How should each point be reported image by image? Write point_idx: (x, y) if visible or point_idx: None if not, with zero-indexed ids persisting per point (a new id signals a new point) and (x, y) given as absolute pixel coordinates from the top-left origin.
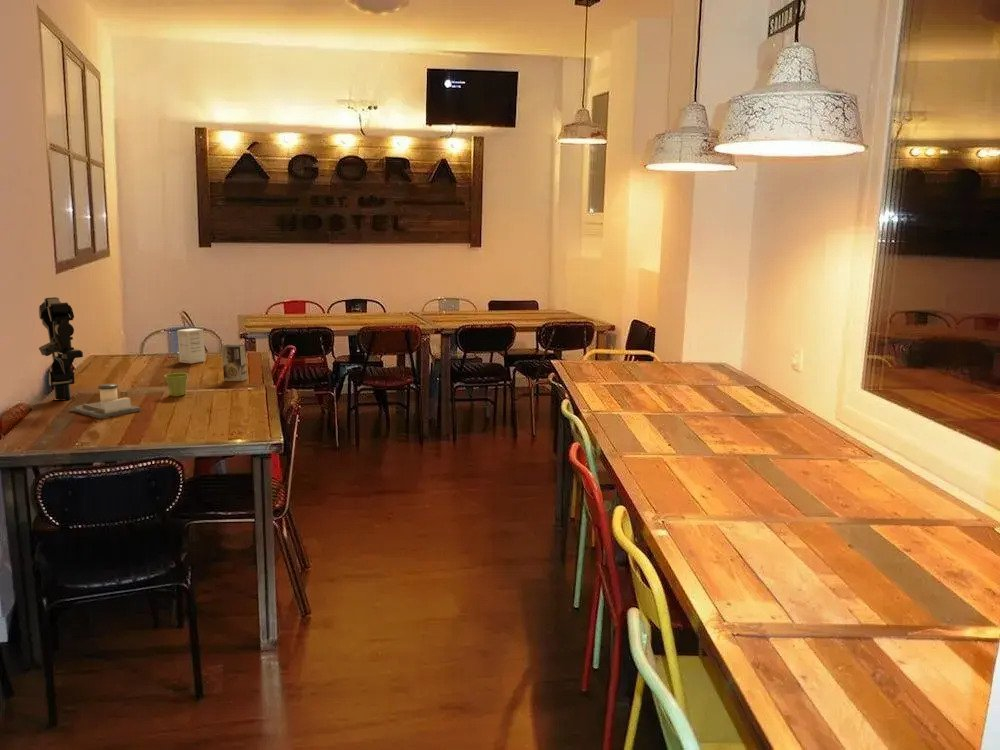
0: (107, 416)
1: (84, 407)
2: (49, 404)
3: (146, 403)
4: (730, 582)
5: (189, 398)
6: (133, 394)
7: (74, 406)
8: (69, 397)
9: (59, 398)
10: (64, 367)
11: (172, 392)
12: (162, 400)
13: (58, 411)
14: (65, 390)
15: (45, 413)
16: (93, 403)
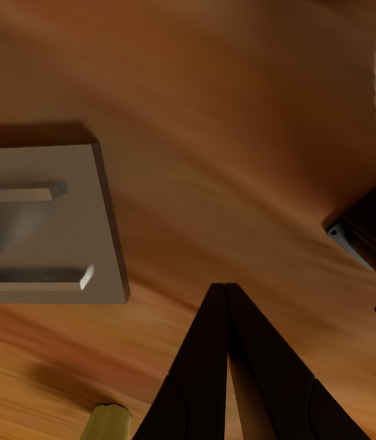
0: None
1: (39, 184)
2: (332, 132)
3: (57, 343)
4: None
5: (54, 408)
6: None
7: (92, 163)
8: (349, 245)
9: (360, 203)
10: (177, 358)
11: (97, 416)
12: (71, 376)
13: (128, 91)
14: (373, 251)
15: (125, 9)
16: (102, 242)
